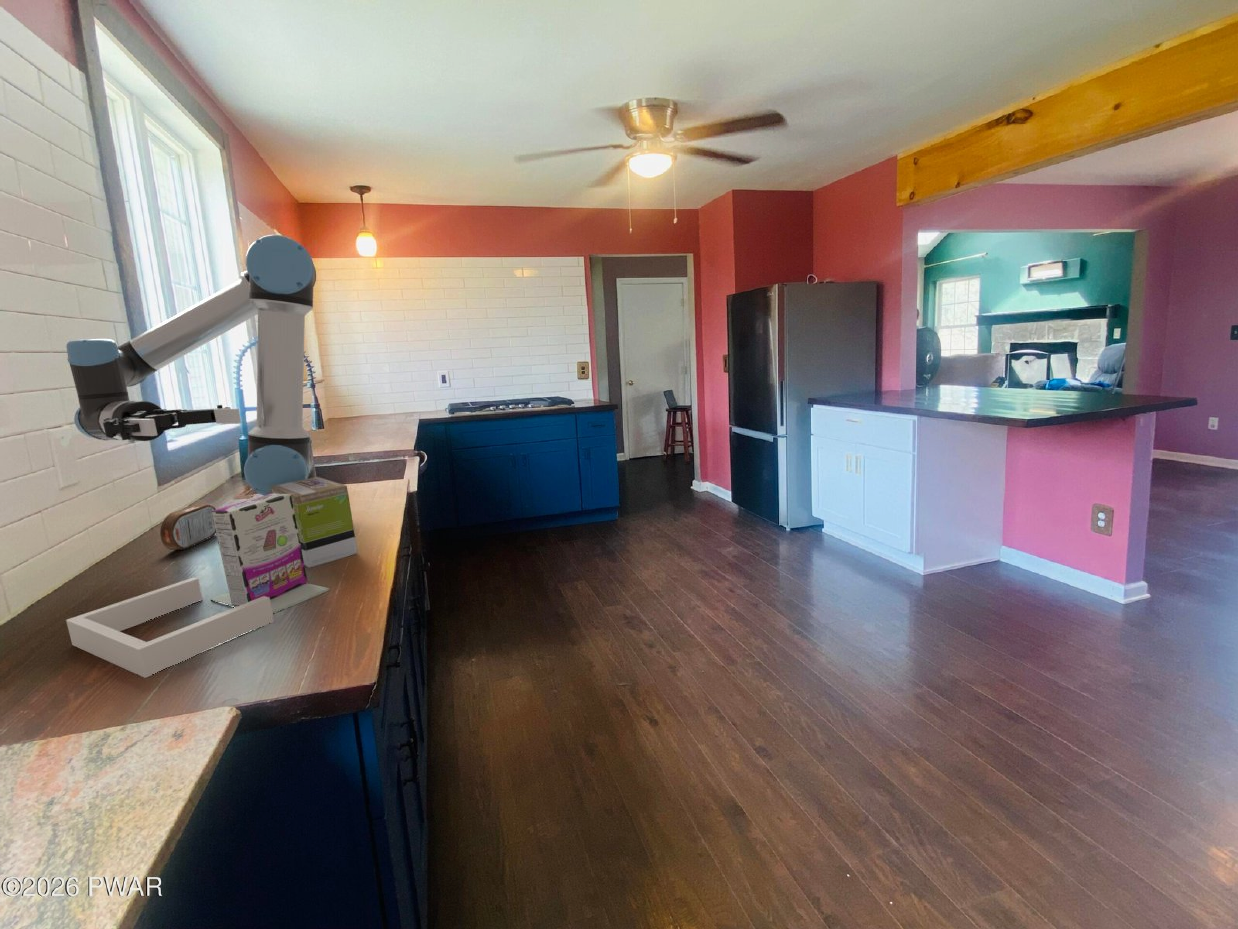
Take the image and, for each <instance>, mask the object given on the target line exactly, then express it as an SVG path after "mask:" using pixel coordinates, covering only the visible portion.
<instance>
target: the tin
mask: <svg viewBox="0 0 1238 929" xmlns="http://www.w3.org/2000/svg"><path fill="white" fill-rule="evenodd" d="M213 510H217V508H215V507H214V506H213V505H211V504H204V503H203V504H201V503H195V504H193V505H191V506H188V507H184V508H182V509H179V510H175V511H173V512H171V513H169V514H168V515H166V516H165V518H164V519H163V521H162V523H161V525H160V532H159V535H160V540H161V543H162V544H163V546H164V547H165V548H166V549H168V550H170V551H174V550H175V551H176V550H179V551H180V550H182V549H183V550H186V549H185V548H187V549H189V547H190V548H192V547H193V546H192V545H194V544H196V545H199V544H200V543H199V542H201V541H203V542H205V541H207V540H206V539H207V538H209V537H212V536H213V535H214V536H215V535H216V530H215V526H214V521H213V517H212V513H211V511H213ZM214 536H213V537H214ZM213 537H212V538H213ZM204 540H205V541H204ZM198 543H199V544H198ZM201 543H202V542H201ZM191 546H192V547H191ZM194 546H195V545H194Z"/></svg>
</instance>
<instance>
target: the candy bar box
mask: <svg viewBox="0 0 1238 929" xmlns="http://www.w3.org/2000/svg"><path fill="white" fill-rule="evenodd" d="M211 513H212V517H213V521H214V526H215V530H216V533H215V535H216V539H217V543H218V548H219V553H220V555H221V556H220V557H221V561H222V566H223V569H224V574H225V579H226V584H227V588H228V592H229V593H230V598H231V602H232V605H234V606H240V605H242V604H245V603H247V602H250V601H252V600H255V599H258V598H260V597H263V596H266V597H269V598H270V600H271V599H273V598H275V597H277V596H279V595H281V594H283V593H285V592H288V591H290V590H292V589H294V588H296V587H298V586H300V585H302V584H305V583H308V576H307V572H306V565H304V560H303V555H302V550H301V545H300V540H299V535H298V529H297V524H296V518H295V513H294V508H293V503H292V498H291V494H283V493H272V494H268V495H265V496H263V495H260V496H258V497H255V498H251V499H249V500H244V501H241V502H238V503H235V504H231V505H228V506H224V507H222V508H216V510H213V511H211Z"/></svg>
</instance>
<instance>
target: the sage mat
mask: <svg viewBox="0 0 1238 929" xmlns="http://www.w3.org/2000/svg"><path fill="white" fill-rule="evenodd" d="M329 591H330V589H329V587H325V586H320V585H317V584H312V583H308V582H306V583H305V584H302V585H300V586H298V587H296V588H294V589H292V590H290V591H288V592H285V593H283V594H281V595H279V596H277V597H275V598H273V599H271V600H270V603H271V608H272V613H275V614H277V613H279V612H281V611H280V610H282V609H284V610H286V609H289V608H291V607H294V606H295V605H299V604H300V603H302V602H305V601H307V600H310V599H312V598H314V597H316V596H319V595H321V594H322V595H323V593H326V592H329ZM210 599H211V600H214V601H217V602H222V603H225V604H228V605H230V606H234V605H232V602H231V598H230V593H229V591H228V592H225V593H222V594H220V595H217V596H214V597H212V598H210ZM211 600H210V601H211ZM290 606H291V607H290ZM234 607H237V606H234ZM288 607H289V608H288ZM278 611H279V612H278ZM282 611H283V610H282Z"/></svg>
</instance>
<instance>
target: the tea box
mask: <svg viewBox="0 0 1238 929" xmlns="http://www.w3.org/2000/svg"><path fill="white" fill-rule="evenodd" d="M270 490H271V494H272V493H283V494H291V498H292V503H293V508H294V513H295V518H296V524H297V529H298V535H299V540H300V545H301V550H302V555H303V560H304V565H305V567H307V568H308V569H310V568H314V567H317V566H321V565H323V564H327V563H330V562H334V561H337V560H342V559H344V558H347V557H350V556H353V555H356V554H358V547H357V546H358V545H357V539H356V534H355V528H354V527H355V526H354V523H353V522H354V520H353V516H352V515H353V514H352V509H351V503H350V495H349V490H348V486H347V485H345V484H343V483H338V482H335V481H333V480H330V479H327V478H326V479H325V478H323V477H320V476H316V477H314V478H310V479H305V480H299V481H294V482H290V483H285V484H281V485H276V486H270Z"/></svg>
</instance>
